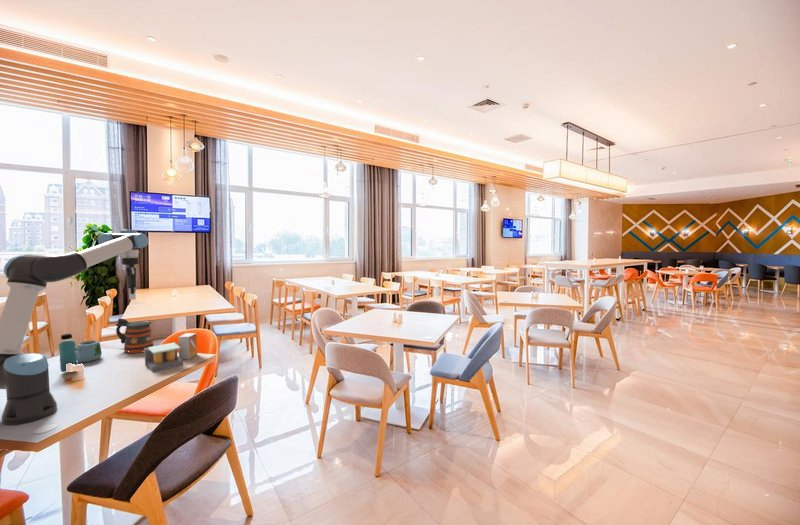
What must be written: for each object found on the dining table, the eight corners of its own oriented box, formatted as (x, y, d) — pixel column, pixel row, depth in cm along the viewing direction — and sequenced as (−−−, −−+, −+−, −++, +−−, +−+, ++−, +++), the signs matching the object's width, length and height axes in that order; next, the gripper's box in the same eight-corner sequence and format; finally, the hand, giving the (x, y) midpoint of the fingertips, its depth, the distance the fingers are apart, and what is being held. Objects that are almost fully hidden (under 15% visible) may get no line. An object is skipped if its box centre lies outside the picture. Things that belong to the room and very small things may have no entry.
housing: (151, 371, 185) (150, 353, 185) (145, 365, 195) (144, 347, 194) (183, 364, 196) (183, 347, 195) (176, 358, 206) (175, 341, 205)
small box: (190, 359, 204) (189, 336, 203) (178, 359, 204) (177, 336, 203) (197, 354, 212) (196, 332, 211) (186, 354, 212) (185, 332, 211)
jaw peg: (167, 365, 194) (167, 349, 193) (166, 363, 197) (165, 347, 196) (176, 363, 197) (175, 347, 196) (174, 362, 200) (173, 346, 199)
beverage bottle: (67, 375, 180) (64, 336, 179) (56, 374, 182) (54, 335, 180) (81, 370, 187) (78, 333, 185) (71, 369, 188) (68, 332, 187)
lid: (153, 354, 185) (153, 352, 185) (147, 348, 194) (147, 347, 194) (180, 348, 194) (180, 347, 194) (174, 343, 203) (173, 342, 203)
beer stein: (111, 355, 211) (108, 321, 209) (122, 347, 224) (120, 316, 223) (148, 352, 216) (146, 319, 215) (157, 345, 230) (155, 314, 229)
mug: (84, 366, 194) (82, 347, 193) (63, 365, 194) (62, 347, 193) (107, 356, 208) (106, 339, 208) (88, 356, 209) (87, 339, 208)
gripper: (140, 257, 198) (143, 299, 200) (135, 256, 207) (138, 297, 209) (123, 258, 193) (126, 301, 194) (119, 257, 202) (122, 298, 203)
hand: (132, 299), depth 202 cm, fingers closed
